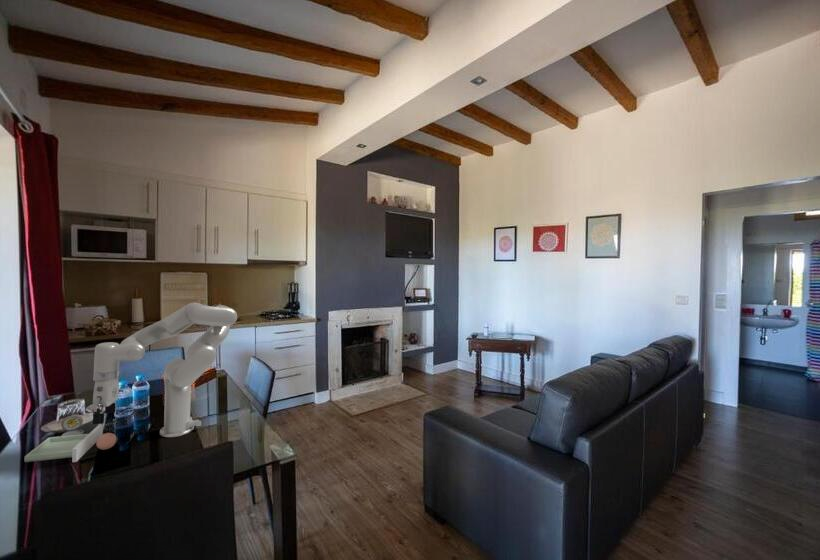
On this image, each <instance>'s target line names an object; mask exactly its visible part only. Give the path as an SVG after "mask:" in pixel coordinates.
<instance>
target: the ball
mask: <svg viewBox="0 0 820 560" xmlns="http://www.w3.org/2000/svg"><path fill="white" fill-rule="evenodd" d="M116 443H117V436H116V434H114V433H111V432H106V433H103V435H101V436H100V437H99V438H98V440H97V442H96V443H95V444H96V447H97V448H98V449H99V450H103V451H104V450H110V449H111V448H112V447H114V446H115V444H116Z"/></svg>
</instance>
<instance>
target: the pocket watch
mask: <svg viewBox="0 0 820 560" xmlns="http://www.w3.org/2000/svg"><path fill="white" fill-rule="evenodd" d="M72 410H73V411H72ZM74 410H75V411H74ZM70 411H71V412H70ZM76 412H77V409H76V408H72V409H69V410H68V411H67V413H69V414H71V415H68V416H66V417H65V418H64V419H63V420H62V422H61V428H62V429H63V430H64V431H66V432H64V433H62V434H61V436H71V435H82V434H84V430H83V429H79V428H81V427H82V425H83V423H84V419H83V416H82V415H79V414H75V413H76Z"/></svg>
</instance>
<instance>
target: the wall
mask: <svg viewBox="0 0 820 560" xmlns="http://www.w3.org/2000/svg"><path fill="white" fill-rule="evenodd" d="M103 424H104V423H103ZM103 424H97V426H96V427H94V429H92V430H91V431H90V432H89V433H87V434H88V435H87V436H86V437H85V438H84V439H83V440H82V441H81V442H79V443H78V444H77V445H76V446H75V447H74V448H73V449H72V457H71V458H72V459H71V461H72V463H77V462H78V461H79V460H80V459H81V458H82V457H83V456H84V455H86V453H87V452H88V451H89V450H90V449H91V448H92V447H93V446H94V445H95V444H96V442H97V440H98V438H99V437H100V436H101V435H103V434H104V433H103V432H104V429H103V427H104V425H103Z"/></svg>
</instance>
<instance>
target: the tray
mask: <svg viewBox="0 0 820 560" xmlns="http://www.w3.org/2000/svg"><path fill="white" fill-rule="evenodd" d="M88 434H89V433H83V434H81V435H71V436H62V435H61V436H52V437H51V436H50V437H47V438H46V439H45V440H44V441H42V442H41V443H40V444H39V445H37V446H36V447H35V448H33V449H32V450H30V452H28V453H27V454H25V456H24V463H30V462H40V461H49V460H57V459H66V458H67V459H69V458H72V449H73V448H74V447H75V446H76V445H77V444H78V443H79V442H81V441H82V440H83V439H84V438H85V437H86V436H87V435H88Z"/></svg>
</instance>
